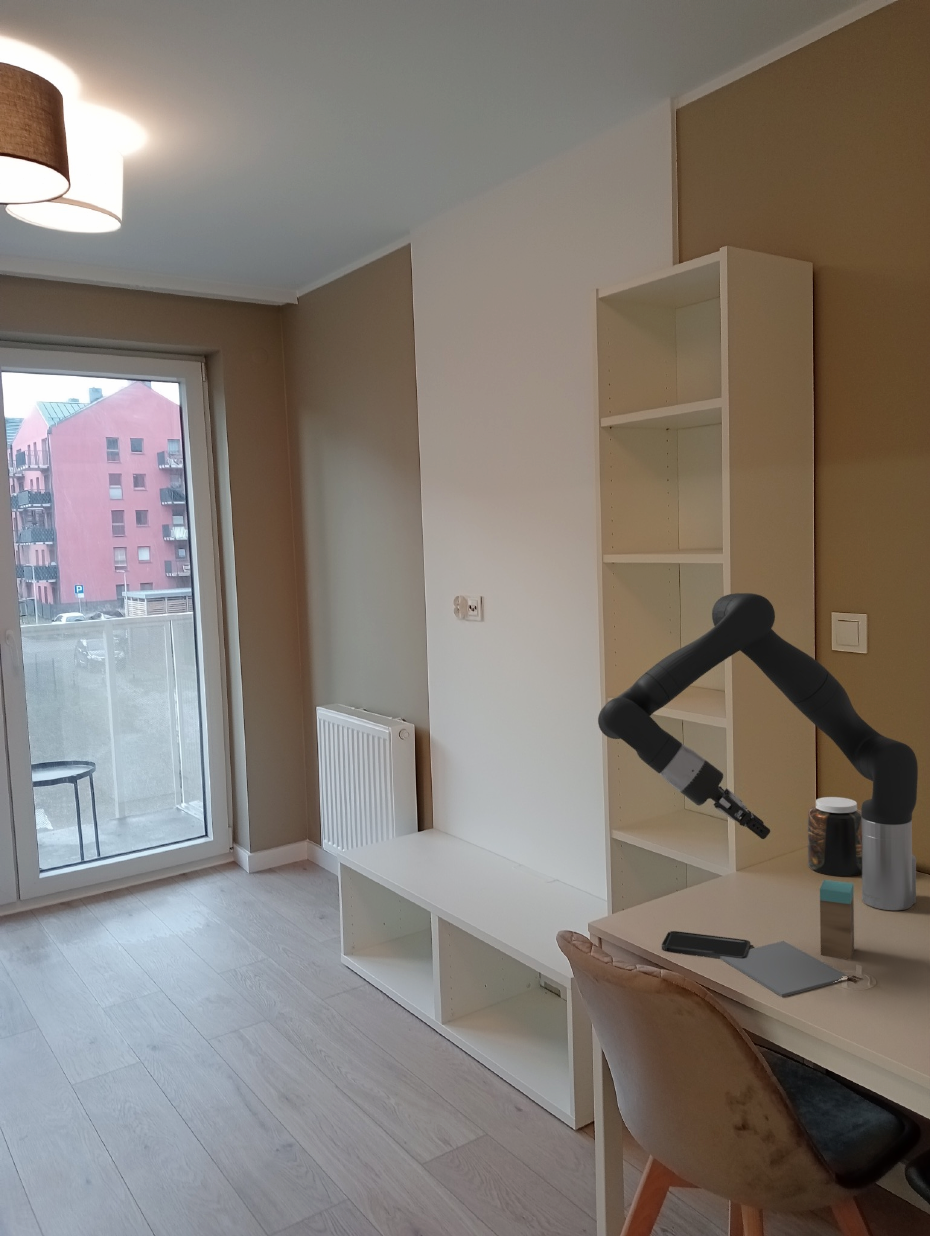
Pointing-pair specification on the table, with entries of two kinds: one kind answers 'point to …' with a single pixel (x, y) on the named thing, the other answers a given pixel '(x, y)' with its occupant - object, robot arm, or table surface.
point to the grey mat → (784, 969)
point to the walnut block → (837, 919)
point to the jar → (835, 837)
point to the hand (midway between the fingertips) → (764, 831)
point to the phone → (705, 945)
